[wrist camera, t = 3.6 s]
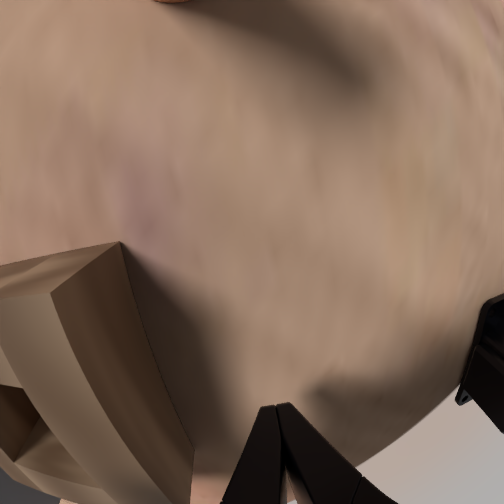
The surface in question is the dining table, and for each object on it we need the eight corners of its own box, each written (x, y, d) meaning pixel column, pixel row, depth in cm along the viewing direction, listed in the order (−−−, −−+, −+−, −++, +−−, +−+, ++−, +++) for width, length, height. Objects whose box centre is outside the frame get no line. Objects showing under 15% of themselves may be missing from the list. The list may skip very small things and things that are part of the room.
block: (119, 241, 8) (49, 292, 4) (194, 450, 11) (188, 520, 7) (-44, 276, 8) (-97, 308, 4) (37, 433, 11) (13, 479, 7)
